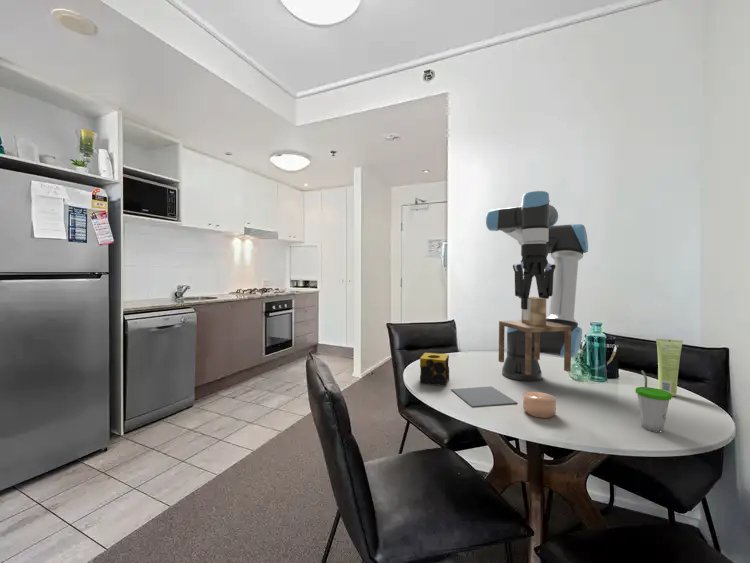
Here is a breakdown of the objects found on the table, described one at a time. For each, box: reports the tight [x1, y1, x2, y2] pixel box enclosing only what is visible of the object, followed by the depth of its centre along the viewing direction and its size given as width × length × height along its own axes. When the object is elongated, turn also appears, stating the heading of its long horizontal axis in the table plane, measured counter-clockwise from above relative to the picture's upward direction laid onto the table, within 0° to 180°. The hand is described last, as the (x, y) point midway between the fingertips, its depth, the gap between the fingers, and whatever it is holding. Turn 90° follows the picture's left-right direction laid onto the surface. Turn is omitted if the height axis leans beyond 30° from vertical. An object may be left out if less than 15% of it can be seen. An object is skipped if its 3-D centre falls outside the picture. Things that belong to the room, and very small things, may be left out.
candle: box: [419, 352, 450, 387], centre depth 135 cm, size 10×10×10 cm
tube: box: [655, 338, 683, 397], centre depth 122 cm, size 6×5×20 cm
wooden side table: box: [498, 296, 572, 375], centre depth 106 cm, size 14×14×21 cm
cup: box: [635, 370, 673, 433], centre depth 95 cm, size 8×8×15 cm
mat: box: [450, 386, 518, 408], centre depth 118 cm, size 16×16×1 cm
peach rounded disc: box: [522, 391, 557, 419], centre depth 105 cm, size 9×9×5 cm
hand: (533, 319), depth 106 cm, fingers closed on wooden side table, 4 cm apart
